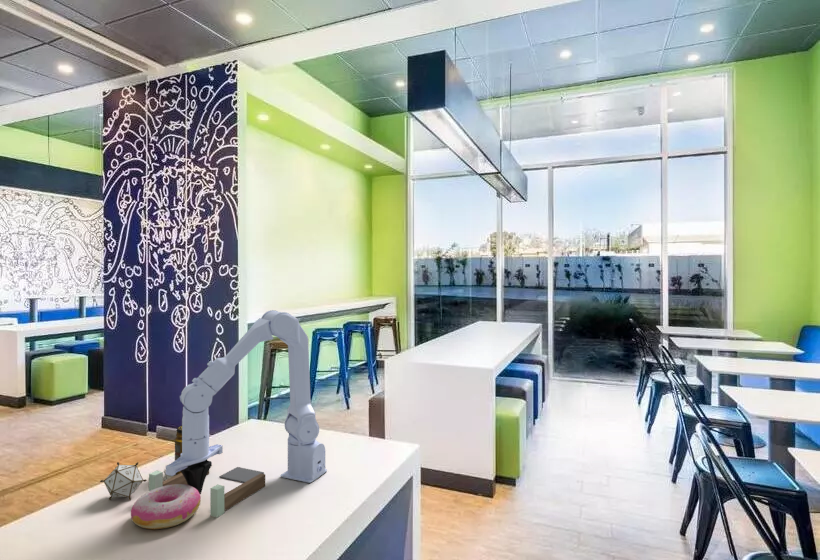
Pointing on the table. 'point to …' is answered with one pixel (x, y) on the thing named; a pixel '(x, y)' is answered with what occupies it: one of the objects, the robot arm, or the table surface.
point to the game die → (123, 481)
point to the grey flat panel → (240, 474)
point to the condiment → (177, 448)
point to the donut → (166, 506)
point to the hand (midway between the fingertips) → (195, 494)
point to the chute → (214, 490)
